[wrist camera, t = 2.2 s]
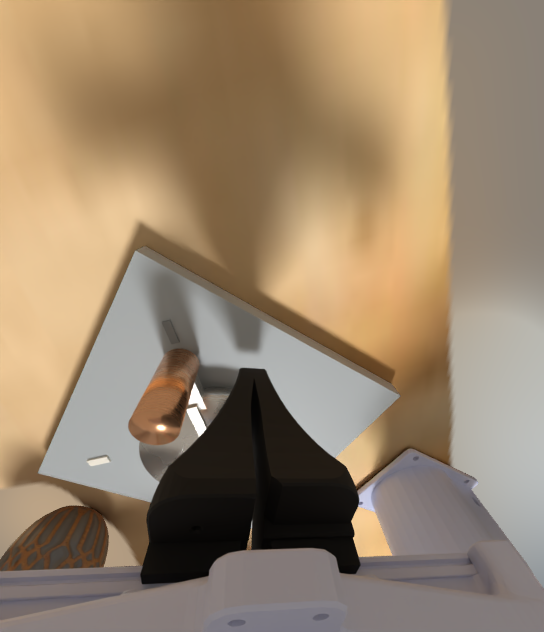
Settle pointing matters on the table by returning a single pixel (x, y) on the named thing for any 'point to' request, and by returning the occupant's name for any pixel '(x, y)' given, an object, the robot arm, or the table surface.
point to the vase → (60, 542)
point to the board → (214, 370)
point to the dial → (173, 411)
